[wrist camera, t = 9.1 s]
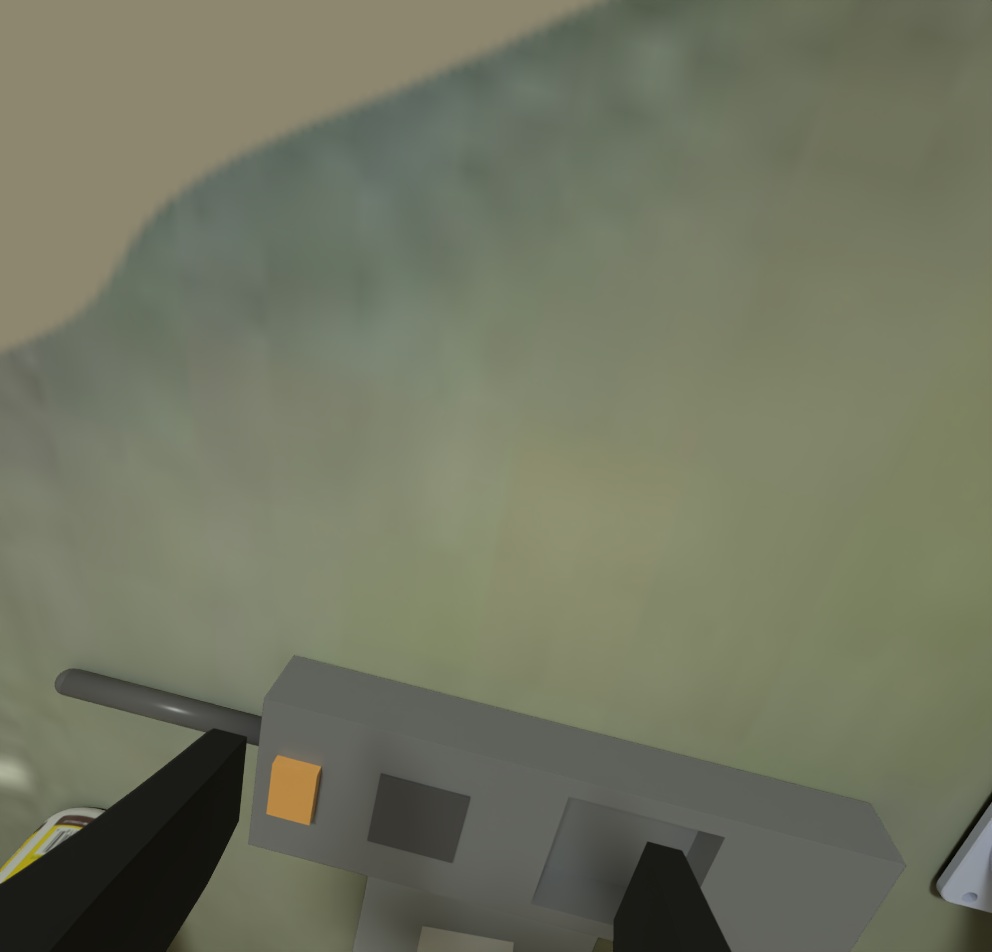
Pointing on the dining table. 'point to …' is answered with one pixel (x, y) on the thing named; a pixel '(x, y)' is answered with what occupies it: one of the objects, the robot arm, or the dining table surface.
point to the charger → (459, 942)
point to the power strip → (532, 809)
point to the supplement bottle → (48, 838)
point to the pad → (450, 922)
